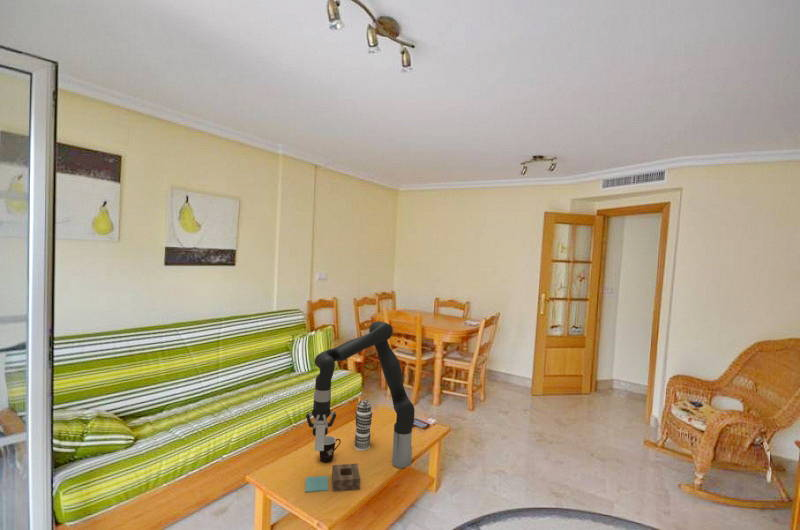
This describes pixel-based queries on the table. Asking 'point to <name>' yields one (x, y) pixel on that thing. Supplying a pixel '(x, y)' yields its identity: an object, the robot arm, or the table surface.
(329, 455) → the coffee mug
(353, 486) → the socket block
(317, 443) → the steel peg
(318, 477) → the pad
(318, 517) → the table surface
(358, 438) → the decorative candle
